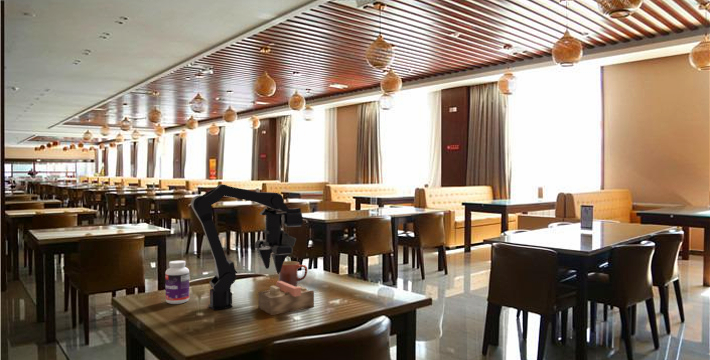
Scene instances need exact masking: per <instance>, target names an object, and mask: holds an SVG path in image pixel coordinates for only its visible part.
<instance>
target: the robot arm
mask: <svg viewBox="0 0 710 360" xmlns="http://www.w3.org/2000/svg"><path fill="white" fill-rule="evenodd" d="M224 197H228V198H234V199H239V200H244V201H249V202H253V203H254V202H255V203H256V204H259V205H261V206H263V207H264V208H263V209H262V211H260V212H259V215H260V216H265V221H264V223H265V229H263V230H262V233H263V234H265V235H264V236H265V237H264V238H265V239H257V240H256V241H255V242H254V248H255V249H256V251H257V253H258V254H259V256H260V257H259V258H261V261H262V263H263V266H264V267H265V269H267V270H269V269H270V263H271V256H272V259H273V264H274V267H275V271H276V273H277V274H279V273H280V271H281V268H282V265H283V262H284V261H285V260H286V258H287V257H289V256H290V255H291V254H293V249H294V248H293V247H295V243H296V241H297V238H296V237H293V236H290V235H289V233H286V232H285V231H284V229H282V225H283V226H285V227H286V228H291V227H292V228H293V227H294V228H296V227H302V226H303V222H304V217H303V214H302V209H301V207H294V208H288V206H287V205H286V203H285V202H284V198H283V196H282V194H281V193H279V192H271V191H267V192H265V191H254V190H249V189H245V188H239V187H234V186H229V185H227V184H221V183H220V184H218V185H217V186H215V187H214V188H213V189H210V190H209V191H207V192H205V193H204V194H202V195H200V194H199V195H195V196H194V197H193V198H192V199H191V200H190V206H191V209H192V210H193V212H194V214H195V216H196V217H197V219H198V220H199V222H200V223H201V226H202V229H203V233H204V234H205V237H206V241H207V243H208V247H209V249H210V251H211V252H210V253H211V255H212V258H213V262H214V270H215V275H214V276H213V277H212V279H211V280H209V284H210V287H211V289H209V304H208V307H209V308H211V309H212V310H213V311H218V310H219V311H220V310H224V309H229V308H232V307H233V292H232V290H231V287H232V285H233V284H234V283H235V281H236V280H237V274H238V271H236V269H235V263H234V261H233V260H231V259H228V258H227V257H226V254H225V252H224V248H223V245H222V243H221V240H220V236H219V234H218V231H217V228H216V226H215V223H214V218H213V217H214V216H213V208H212V207H213V205H215V204H216V203H218V202H219V201H220V200H221V199H222V198H224ZM267 208H268V209H267ZM269 208H270V209H269ZM278 211H279V212H278Z"/></svg>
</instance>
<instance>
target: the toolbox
mask: <svg viewBox="0 0 710 360" xmlns="http://www.w3.org/2000/svg"><path fill="white" fill-rule="evenodd" d="M298 286H301V285H299V284H298ZM295 287H297V286H295ZM267 292H270V289H268V290H264V291H263V290H262V291H258V293H257V294H258V296H257V301H258V302H257V303H258V304H257V305H258V309H259V310H260V311H263V312H265V313H267V314H269V315H271V316H273V315H278V314H283V313H289V311H290V312H294V311H300V310H303V309H309V308H315V291H314V290H313V289H312V290H309V291H305V292H301V296H296V297H294V296H292V295H291V294H290V293H289V292H285V295H281V296H276V297H271V296H269V295H267V294H265V293H267Z"/></svg>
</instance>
